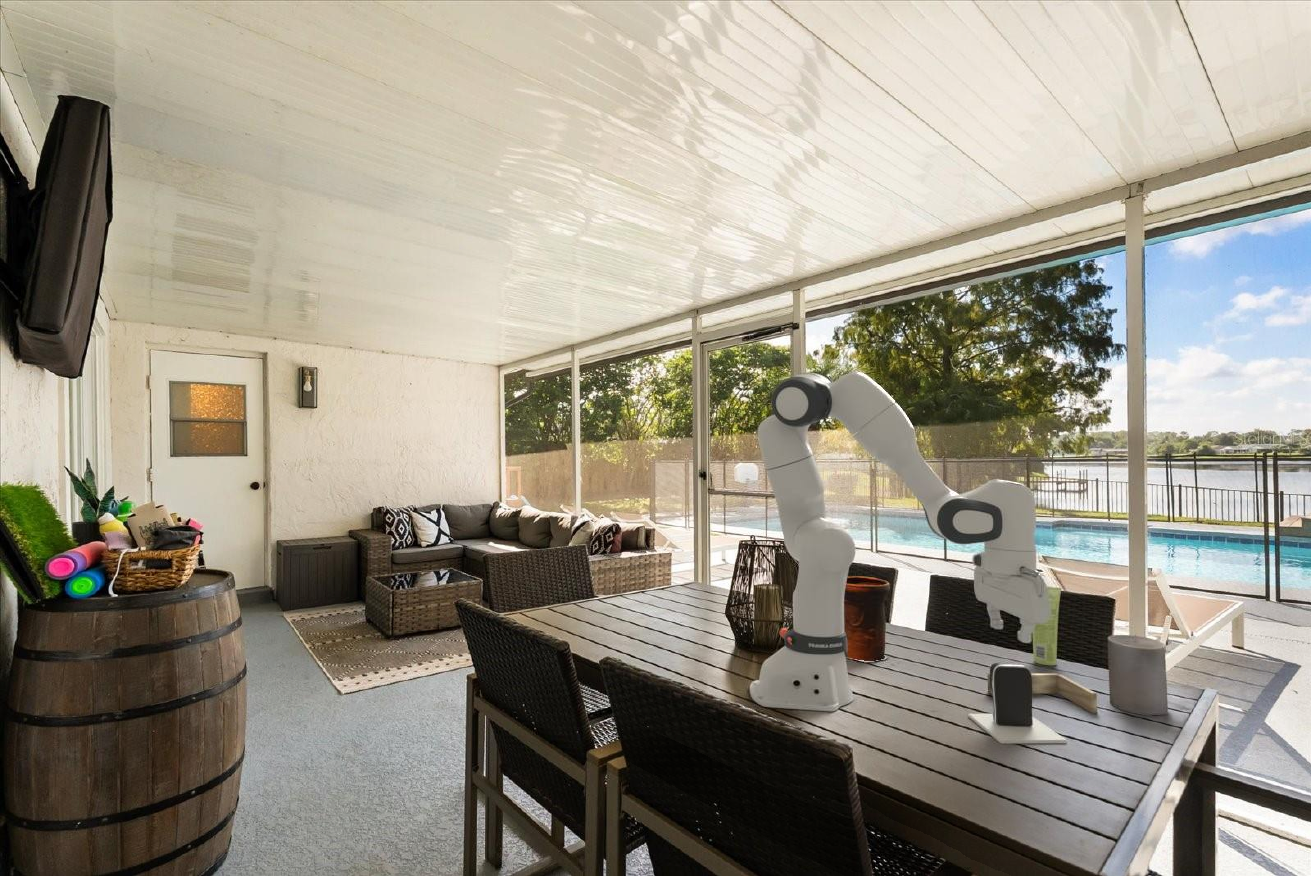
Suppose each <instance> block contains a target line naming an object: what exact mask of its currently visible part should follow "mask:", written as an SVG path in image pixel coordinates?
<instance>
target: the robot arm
mask: <svg viewBox="0 0 1311 876" xmlns="http://www.w3.org/2000/svg"><path fill="white" fill-rule="evenodd" d="M770 403H771V410H772V412H773V414H772V415H770V416H768V417H766V418H765V419H764V420H762V421H761V423H760V424H759V425H758V427H757V438H758V445H759V449H760V454H761V459H762V462H763V466H764V469H765V472H766V475H767V478H768V480H769V483H770V486H771V489H772V492H773V496H774V499H775V503H776V505H777V510H778V515H779V521H780V525H781V531H782V535H783V542H784V546H785V548H786V550H787V552H788V553H789V555H790V557H792V558H793V560H795V561H797V562H798V575H797V579H796V585H795V589H794V591H793V593H792V614H793V615H792V619H793V624H792V625H793V627H792V628H791V629H789V630H788V629H787V628H785V627H781V628H780V630H779V635H780V636H781V638H782V639H784V646H783V647H781V648H780V649H779V650H777V651H776V652H775V653H773V654H772V655H771V656H768V658H766V659H765V660H764V661H763V663H762V665H761V668H760V672H759V673H760V674H759V679H757V680H753V681H752V682H751V683H750V685H749V695H750V697H751V698H752V700H753V701H754V702H756V704H758V705H760V706H762V707H764V708H765V707H766V708H776V709H789V710H790V709H793V710H805V711H806V710H807V711H819V712H836V711H837V710H838V709H839V708H841V707H842V706H846V705H848V704H850V703H851V702H852V701H854V698H855V697H854V694H853V690H852V687H851V683H850V678H849V677H850V676H849V673H848V665H847V659H846V658H847V636H846V632H844V594H845V587H846V581H847V577H849V576H848V575H849V569H850V566H851V565H853V564H852V563H853V562H854V559H855V557H856V544H855V541H854V540H853V538H852V536H851V535H850V534H849V533H848V532H847V530H846V529H844V528H843V527H842V526H841V525H839V524H838V523H835V522H832V521H830V520H829V518H828V514H827V511H826V505H825V504H826V503H825V497H824V496H825V495H824V493H825V485H824V482H823V480H822V477H821V473H820V470H819V468H818V465H817V462H816V459H815V456H814V453H813V451H812V448H811V445H810V441H809V437H808V430H809V428H810V427H811V426H813V425H815V424H816V423H817V422H819V421H821V420H824V419H826V418H829V417H830V418H834V419H836V421H838V422H839V423H841V425H843V427H844V428H845V429H846V430H847V431H848V433H849V434H850V435H851V436H852V437H853V438H854V439H855V440H856V442H857V444H859V445H860V447H862V448H863V449H864V450H866V452H868V453H869V454H870V455H871V456H873V458H875V459H876V460H878V461H879V462H881V464H884V465H885V466H886V467H888V468H889V469H890V470H891V471H893V472H894V473H895V474H896V475H897V476H898V478H900V480H901V481H902V482H903V483H904V485H906V487H907V488H908V490H910V492H911V493H912V494H913V496H915V497H916V499H917V500H918V501H919V503H920V504H921V506H922V509H923V511H924V515H925V519H926V522H927V525H928V526H929V528H930V530H931V531H932V532H933V533H934V534H935V535H936V536H938V537H940V538H941V539H944V540H946V541H948V542H951V543H953V544H956V545H963V546H965V545H972V544H980V543H981V544H982V543H984V544H983V545H984V546H983V547H984V549H983V550H984V551H981V552H979V553H976V554H973V555H972V559H971V560H972V564H973V566H975V567H974V570H973V587H974V594H975V595H974V596H975V598H976V599H977V601H980V602H982V603H985V604H986V610H987V613H988V616H989V618H990V627H991V628H993V629H995V630H1003V629H1004V620H1003V619H1002V615H1001V613H1000V611H1004V612H1005V613H1008V614H1009V615H1013V616H1015V617H1018V618H1019V623H1020V625H1021V627H1020V629H1019V630H1018V631H1017V633H1016V634H1017V640H1018V641H1019V642H1021V643H1023V644H1024V643H1025V644H1030V643H1031V642H1032V632H1033V630H1034V628H1035V626H1036V623H1047V622H1048V621H1049V620H1050V617H1051V611H1050V599H1049V592H1048V587H1049V586H1048V585H1047V583H1046V581H1045V579H1044V578H1043V577H1042V575H1041V572H1039V571H1038V570H1037V546H1036V542H1035V537H1034V536H1035V532H1036V530H1037V517H1036V515H1037V514H1036V503H1035V497H1034V494H1033V491H1032V489H1030V488H1029V487H1028V486H1027V485H1025V484H1023V483H1019V482H1015V481H1012V480H1011V481H1010V480H1004V479H997V478H996V479H989V480H988V481H987V482H986V483H984V484H982V485H981V486H978V487H976V488H975V489H971V490H970V491H966V492H964V493H958V492H956V491H954V490H952V489H950V488H949V487H948V486H947V485H946V484H945V483H944V482H943V480H942V479H941V477H939V476H938V474H937V473H936V472H935V471H934V470H933V469H932V468H931V466H930V465H929V464H928V462H926V460H925V459H924V457H923V456H922V454H921V452H920V450H919V447H918V443H917V438H916V437H917V436H916V430H915V428H914V426H913V424H912V422H911V421H910V419H909V417H908V416H907V414H906V413H905V411H904V410H903V408H901V406H900V405H899V404H898V403H897V402H896V401H895V399H893V397H892V396H891V395H890V394H889V393H888V392H887V391H886V390H885V389H884V388H883V387H882V386H881V385H879V384H878V383H877V382H876V381H875V380H873V379H872V378H871V377H870V376H869V375H867V374H866V373H864V372H860V371H851V372H849V373H845V374H844V375H842V376H840V377H839V378H838V379H836V380H835V381H833V380H832V379H831V378H830V377H829V376H827V374H825V373H822V372H817V371H811V372H802V373H797V374H795V375H793V376H790V377H788V378H785V379H783V380H782V381H781V382H780V383H779V384H778V385H777V386H776V388H775V389H774V391H773V393H772V396H771V401H770Z"/></svg>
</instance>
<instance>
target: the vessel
mask: <svg viewBox="0 0 1311 876" xmlns="http://www.w3.org/2000/svg"><path fill="white" fill-rule="evenodd" d="M890 590H891V584H890V582H888V581H887V580H883V579H879V578H876V577H870V576H847V581H846V587H845V594H844V632H846V636H847V658H852V659H857V660H864V661H876V660H881V659H884V658H885V656H884V654H885V653H886V629H887V628H886V627H887V621H886V608H887V606H888V599H887V597H888V595H889V593H890Z"/></svg>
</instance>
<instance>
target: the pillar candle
mask: <svg viewBox="0 0 1311 876" xmlns="http://www.w3.org/2000/svg"><path fill="white" fill-rule="evenodd" d="M1107 657H1108V686H1109V688H1108V689H1109V702H1110V705H1112V706H1113V707H1115V708H1117V709H1119V710H1122V711H1125V712H1128V713H1132V714H1136V715H1141V716H1166V715H1167V713H1168V712H1169V709H1168V708H1169V706H1168V705H1169V704H1168V703H1169V702H1168V687H1167V686H1168V685H1167V669H1166V668H1167V664H1166V661H1167V660H1166V646H1165V644H1164V643H1163V642H1161V641H1159V640H1156V639H1153V638H1149V637H1144V636H1138V635H1137V634H1134V635H1130V634H1129V635H1128V634H1127V635H1126V634H1113V635H1112V634H1111V635H1109V636H1108V637H1107Z"/></svg>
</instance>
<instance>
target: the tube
mask: <svg viewBox="0 0 1311 876" xmlns="http://www.w3.org/2000/svg"><path fill="white" fill-rule="evenodd" d="M1047 587H1048V592H1049V599H1050V611H1051V617H1050V620H1049V621H1048V622H1047V623H1036V626H1035V628H1034V630H1033V632H1032V633H1031V636H1032V649H1033V662H1034V663H1037V664H1040V665H1043V666H1050V667H1051V666H1056V665H1057V662H1058V661H1057V657H1058V656H1057V655H1058V654H1057V650H1058V628H1059V627H1058V624H1059V610H1060V600H1061V593H1062V587H1053V586H1047Z"/></svg>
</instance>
